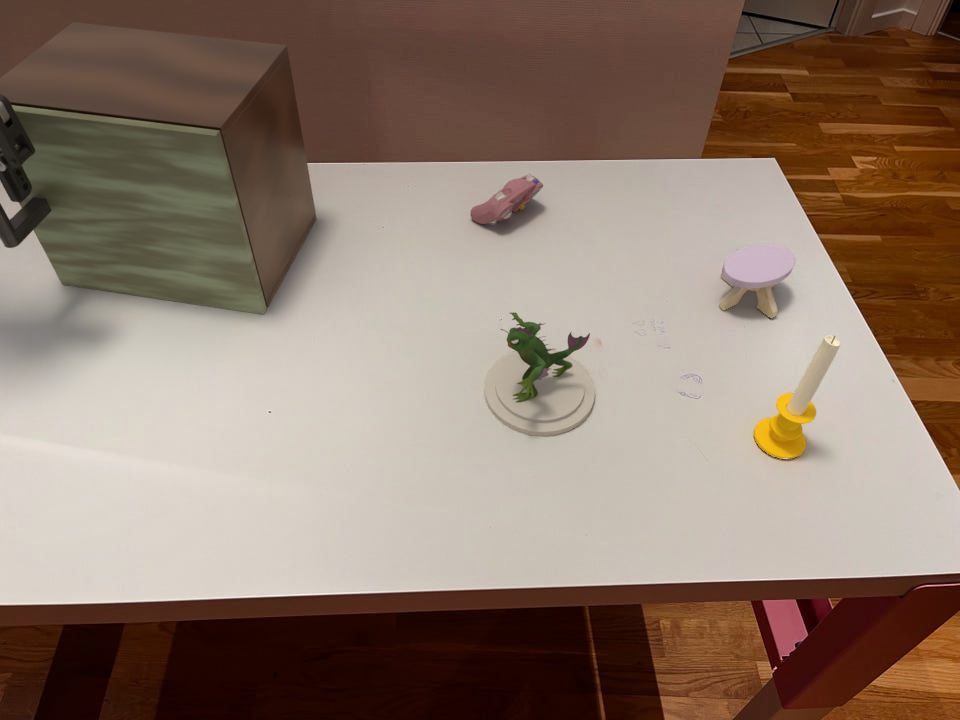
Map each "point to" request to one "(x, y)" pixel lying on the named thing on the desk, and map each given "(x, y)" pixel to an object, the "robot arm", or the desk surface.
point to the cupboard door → (135, 209)
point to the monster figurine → (539, 384)
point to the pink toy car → (507, 200)
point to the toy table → (756, 274)
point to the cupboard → (192, 114)
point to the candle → (796, 408)
